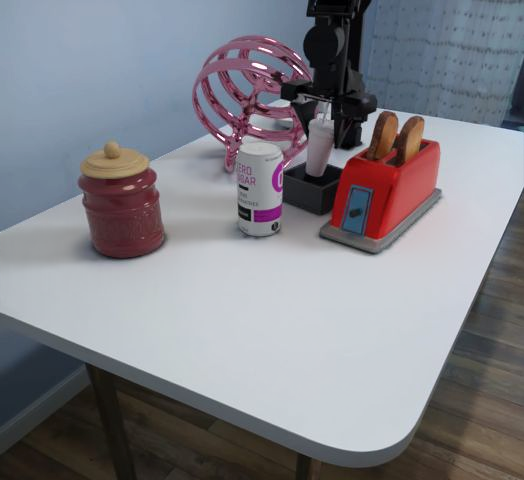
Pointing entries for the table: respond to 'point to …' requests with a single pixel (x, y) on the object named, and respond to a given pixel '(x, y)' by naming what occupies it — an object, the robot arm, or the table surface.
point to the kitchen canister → (121, 202)
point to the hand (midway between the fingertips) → (323, 144)
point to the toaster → (385, 186)
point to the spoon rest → (288, 121)
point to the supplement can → (259, 187)
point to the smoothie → (319, 144)
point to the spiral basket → (252, 94)
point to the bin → (311, 188)
